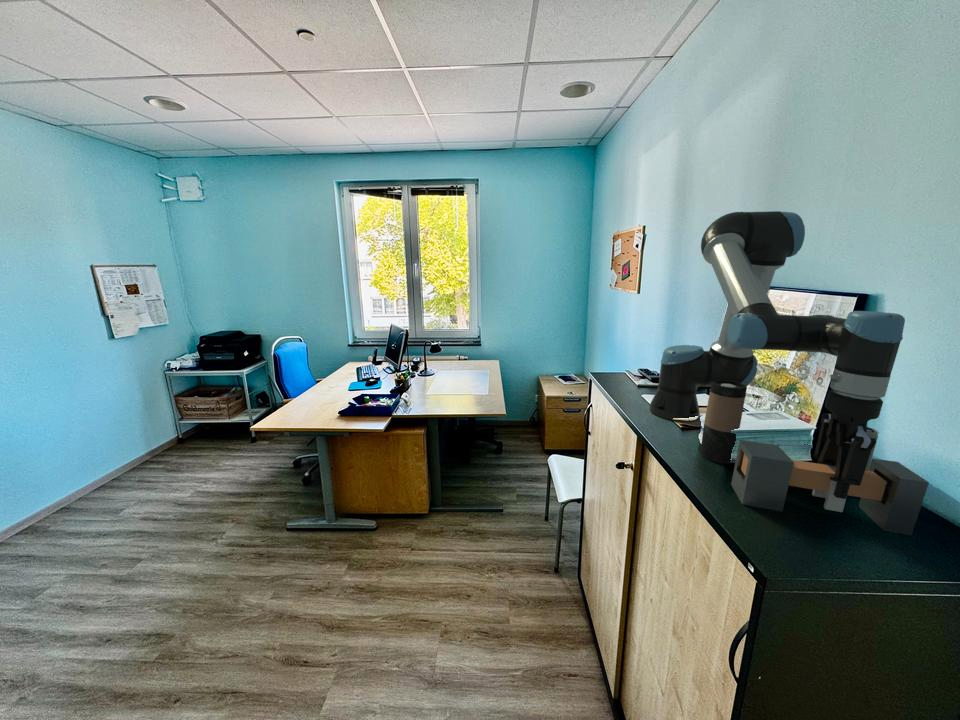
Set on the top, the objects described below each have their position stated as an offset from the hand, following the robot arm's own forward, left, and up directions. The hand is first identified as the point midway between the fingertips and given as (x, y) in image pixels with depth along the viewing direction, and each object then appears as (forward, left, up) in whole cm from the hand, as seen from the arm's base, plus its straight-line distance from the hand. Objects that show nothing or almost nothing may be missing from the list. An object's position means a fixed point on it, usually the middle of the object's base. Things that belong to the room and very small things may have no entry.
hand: (826, 502), depth 77 cm
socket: (0, +9, -2) cm, 10 cm away
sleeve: (0, -12, -2) cm, 12 cm away
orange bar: (0, -4, +3) cm, 5 cm away
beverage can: (-11, +8, -2) cm, 14 cm away
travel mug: (-18, -16, -2) cm, 24 cm away
